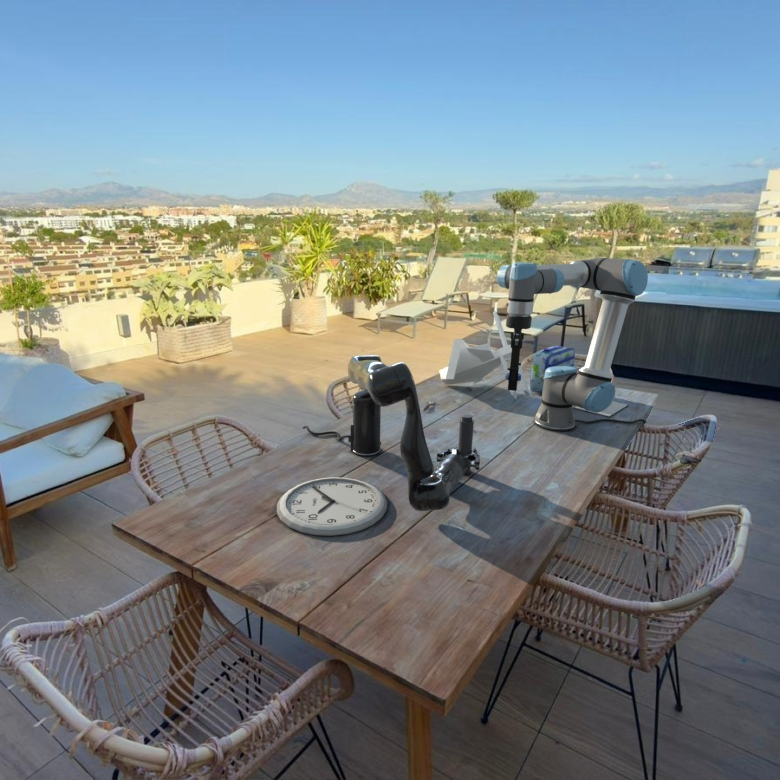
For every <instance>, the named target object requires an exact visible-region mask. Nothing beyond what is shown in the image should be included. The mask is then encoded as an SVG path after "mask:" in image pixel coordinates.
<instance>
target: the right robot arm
mask: <svg viewBox="0 0 780 780" xmlns="http://www.w3.org/2000/svg"><path fill="white" fill-rule="evenodd" d="M648 281H649V273H648V270H647V267H646V265H645V264H644V263H643V262H642V261H640V260H637V259H630V258H610V257H596V258H589V259H581V260H580V259H579V260H574V261H572V262H570V263H555V264H552V263H551V264H536V262H535V263H534V262H513V263H512V264H510V265H502V266H501V267H500V268H499V269H498V271H497V274H496V282H497V284H498V285H499V287H501V288H504V289H507V290H508V298H507V299H508V300H507V302H506V303H505V307H507V308H506V309H507V311H506V312H507V315H506V318H505V326H506V328H508V329H513V332H510V344H511V348H512V353H511V360H510V366H509V367H508V370H509V382H508V384H507V391H510V390H512V391H517V390H518V382H519V381H518V371H519V366H521V367H522V362H520V356H521V349H522V348H523V341H524V338H525V333H524V332H522V331H523V330H529V329H530V328H532V321H533V318H532V315H533V312H534V311H533V310H534V302H535V301H534V298H535V295H543V294H544V295H546V294H549V295H551V294H555V293H558V292H560V291H561V290H562V289H563V288H564V287H566V286H570V287H572V288H574V289H575V288H576V289H579V288H580V289H581V288H582V289H588V290H594V291H599V297H600V298H601V301H602V302H601V305H600V309H599V311H598V312H599V313H598V317H597V320H596V323H595V327H594V331H593V334H592V337H591V341H590V345H589V349H588V351H587V352H588V353H587V356H586V359H585V362H584V366H582V367H580V368H579V369H578V368H577V367H575V366H574V367H570V366H555V367H549V368H547V369H546V370H545V375H544V378H543V379H544V380H543V391H542V393H541V402H540V405H539V407H538V410H537V411H536V413H535V417H534V424H535V425H536V426H537V427H539V428H542V429H544V430H549V431H556V432H567V431H572V430H574V429H575V428H576V423H580V424H593V423H598V422H612V423H613V422H614V423H620V424H635V423H639V422H643V423H645V424H647V423H648V422H647V421H646V420H645V419H643V418H638V419H635V420H628V421H627V420H621V419H614V418H613V419H612V418H599V419H594V420H581V419H576V418H575V417H576V416H575V413H574V407H576V406H577V407H580V408H583V409H585V410H587V411H586V412H588V411H593V412H601V411H603V410H605V409H606V408H607V407H608V406H609V405H610V404H611V402H612V401H614V398H615V396H616V386H615V384H613V383H612V380H613V376H612V374H611V373H610V371H611V367H612V364H613V360H614V356H615V353H616V350H617V346H618V343H619V339H620V335H621V332H622V328H623V325H624V322H625V318H626V315H627V312H628V308H629V306H630V305H631V304H633V303H634V302H635V300H636V297H638V296H640V295H642V294H643V293H644V291H645V290H646V289H647V286H648ZM519 362H520V363H519ZM573 406H574V407H573Z"/></svg>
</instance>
